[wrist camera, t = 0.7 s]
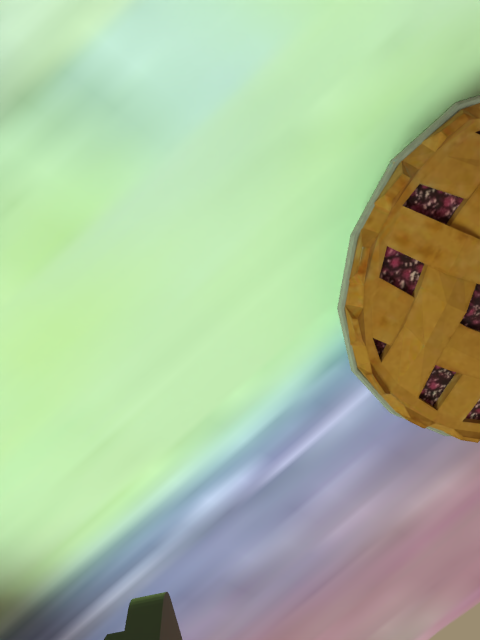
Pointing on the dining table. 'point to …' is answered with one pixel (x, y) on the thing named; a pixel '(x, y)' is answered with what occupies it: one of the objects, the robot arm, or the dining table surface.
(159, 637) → the robot arm
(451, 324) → the pie
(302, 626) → the dining table surface
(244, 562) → the dining table surface
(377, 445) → the dining table surface
